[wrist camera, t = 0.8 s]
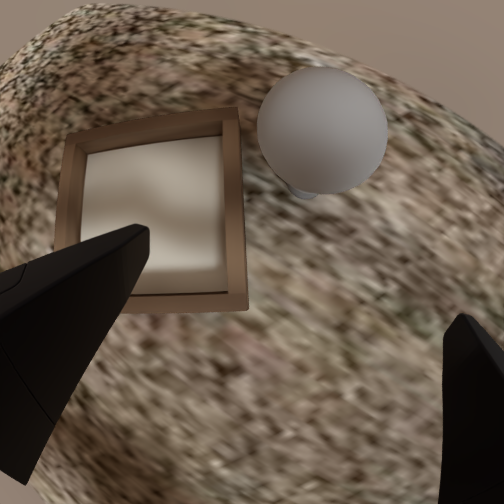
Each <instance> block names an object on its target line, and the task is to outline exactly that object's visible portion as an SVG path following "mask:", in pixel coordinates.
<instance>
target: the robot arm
mask: <svg viewBox="0 0 504 504" xmlns="http://www.w3.org/2000/svg"><path fill="white" fill-rule="evenodd" d="M149 255H150V230H149V228H148V227H147V226H144V225H141V224H137V223H134V224H131V225H128V226H125V227H122V228H119V229H116V230H113V231H110V232H108V233H105V234H102V235H99V236H96V237H93V238H90V239H88V240H85V241H82V242H79V243H77V244H74V245H71V246H68V247H66V248H63V249H60V250H58V251H55V252H52V253H50V254H47V255H45V256H42V257H39V258H37V259H34V260H32V261H29V262H28V263H24V264H21V265H19V266H17V267H14V268H12V269H9V270H6V271H4V272H1V273H0V470H1V471H2V472H4V473H5V474H7V475H8V476H10V477H11V478H13V479H15V480H16V481H18V482H20V483H21V484H23V485H26V484H27V483H28V481H29V479H30V476H31V474H32V472H33V470H34V468H35V466H36V464H37V461H38V459H39V457H40V455H41V453H42V451H43V449H44V447H45V445H46V443H47V441H48V439H49V437H50V435H51V433H52V431H53V429H54V427H55V425H56V423H57V421H58V419H59V417H60V415H61V414H62V412H63V410H64V408H65V406H66V404H67V402H68V401H69V399H70V397H71V395H72V393H73V392H74V390H75V388H76V386H77V384H78V383H79V381H80V379H81V377H82V376H83V374H84V372H85V370H86V369H87V367H88V365H89V363H90V362H91V360H92V358H93V357H94V355H95V353H96V352H97V350H98V348H99V347H100V345H101V343H102V342H103V340H104V338H105V337H106V335H107V333H108V332H109V330H110V328H111V327H112V325H113V324H114V322H115V320H116V319H117V317H118V316H119V314H120V312H121V311H122V309H123V308H124V306H125V304H126V303H127V301H128V299H129V297H130V295H131V293H132V291H133V289H134V287H135V285H136V283H137V281H138V279H139V277H140V275H141V273H142V271H143V269H144V267H145V265H146V263H147V261H148V259H149ZM442 398H443V442H442V464H441V478H440V489H439V498H438V504H504V351H503V350H502V349H501V348H500V347H499V345H498V344H497V343H496V342H495V341H494V340H493V339H492V337H491V336H490V335H489V334H488V333H487V332H486V331H485V330H484V328H483V327H482V326H481V325H480V324H479V323H478V322H477V321H476V320H475V319H474V318H473V317H472V316H471V315H468V314H464V313H460V314H459V315H457V317H456V318H455V319H454V321H453V322H452V324H451V325H450V326H449V328H448V329H447V330H446V332H445V334H444V337H443V372H442Z"/></svg>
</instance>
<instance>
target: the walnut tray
mask: <svg viewBox="0 0 504 504" xmlns="http://www.w3.org/2000/svg"><path fill="white" fill-rule="evenodd" d="M134 223H137V224H141V225H144V226H147V227H148V228H149V230H150V255H149V259H148V261H147V263H146V265H145V267H144V269H143V271H142V273H141V275H140V277H139V279H138V281H137V283H136V285H135V287H134V289H133V291H132V293H131V295H130V297H129V299H128V301H127V303H126V304H125V306H124V308H123V309H122V311H121V312H120V313H201V312H229V311H247V310H248V309H249V298H248V279H247V259H246V239H245V219H244V198H243V177H242V155H241V133H240V122H239V115H238V108H237V107H229V108H218V109H208V110H199V111H190V112H182V113H175V114H168V115H161V116H154V117H148V118H142V119H137V120H131V121H126V122H121V123H116V124H111V125H106V126H101V127H97V128H92V129H88V130H84V131H80V132H75V133H72V134H68V135H67V137H66V142H65V148H64V154H63V160H62V167H61V174H60V181H59V190H58V199H57V209H56V221H55V238H54V252H55V251H58V250H60V249H63V248H66V247H68V246H71V245H74V244H77V243H79V242H82V241H85V240H88V239H90V238H93V237H96V236H99V235H102V234H105V233H108V232H110V231H113V230H116V229H119V228H122V227H125V226H128V225H131V224H134Z"/></svg>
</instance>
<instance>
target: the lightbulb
mask: <svg viewBox="0 0 504 504" xmlns="http://www.w3.org/2000/svg"><path fill="white" fill-rule="evenodd" d="M257 136H258V142H259V146H260V149H261V152H262V154H263V155H264V157H265V159H266V161H267V163H268V164H269V166H270V167H271V168H272V169H273V171H274V172H275V173H276V174H277V175H278V176H279V177H280V178H282V179H283V180H284V181H285V182H286V183H287V186H288V188H289V190H290V192H291V193H292V194H293V195H295V196H296V197H298V198H301V199H310V198H313V197H316V196H317V195H318V194H335V193H340V192H344V191H347V190H350V189H352V188H354V187H356V186H358V185H360V184H361V183H363V182H364V181H365V180H367V179H368V178H369V177H370V176H371V175H372V173H373V172H374V171H375V170H376V169H377V167H378V166H379V165H380V163H381V160H382V158H383V156H384V153H385V150H386V145H387V140H388V128H387V120H386V116H385V112H384V110H383V108H382V106H381V104H380V102H379V100H378V98H377V97H376V95H375V94H374V93H373V91H372V90H371V89H370V88H369V87H368V86H367V85H366V84H365V83H364V82H362V81H361V80H359V79H358V78H357V77H355V76H353V75H351V74H350V73H348V72H345V71H342V70H339V69H336V68H330V67H309V68H304V69H301V70H297V71H295V72H293V73H291V74H289V75H287V76H285V77H283V78H282V79H281V80H279V81H278V82H277V83H276V84H275V85H274V86H273V87H272V89H271V90H270V91H269V92H268V94H267V95H266V96H265V98H264V100H263V103H262V105H261V107H260V110H259V113H258V119H257Z"/></svg>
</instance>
